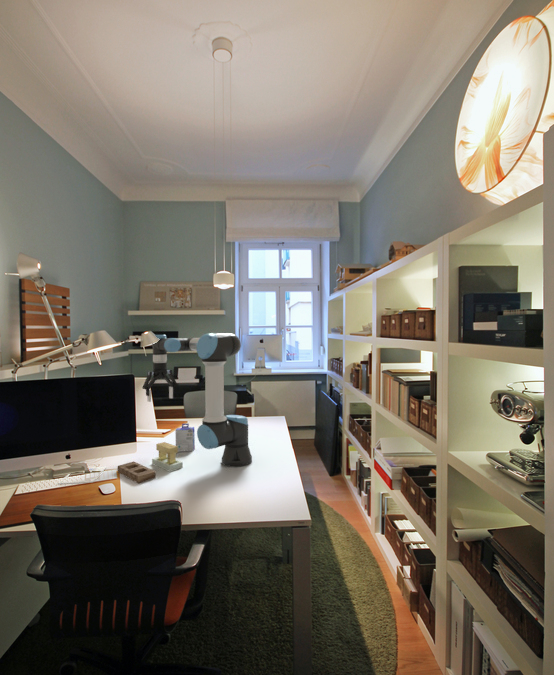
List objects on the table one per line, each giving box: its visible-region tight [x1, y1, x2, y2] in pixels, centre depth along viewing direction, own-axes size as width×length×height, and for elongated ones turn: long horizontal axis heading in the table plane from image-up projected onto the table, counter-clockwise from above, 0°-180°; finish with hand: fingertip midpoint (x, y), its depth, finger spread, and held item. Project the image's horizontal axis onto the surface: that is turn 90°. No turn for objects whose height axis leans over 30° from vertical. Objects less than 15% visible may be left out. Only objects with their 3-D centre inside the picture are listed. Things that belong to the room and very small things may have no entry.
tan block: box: [156, 441, 179, 465], centre depth 181 cm, size 12×4×10 cm, turn 48°
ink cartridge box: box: [174, 423, 196, 453], centre depth 206 cm, size 10×6×14 cm, turn 95°
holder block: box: [151, 456, 183, 472], centre depth 181 cm, size 16×7×2 cm, turn 48°
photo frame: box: [57, 466, 108, 485], centre depth 170 cm, size 15×1×18 cm
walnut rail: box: [117, 461, 156, 484], centre depth 170 cm, size 20×8×3 cm, turn 48°
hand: (160, 399), depth 208 cm, fingers open, 13 cm apart
